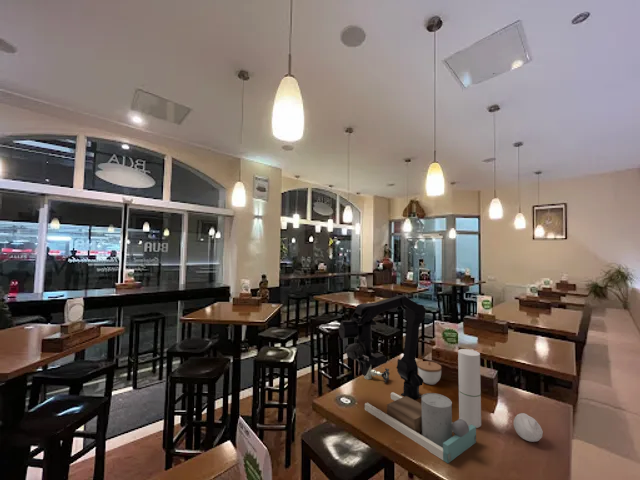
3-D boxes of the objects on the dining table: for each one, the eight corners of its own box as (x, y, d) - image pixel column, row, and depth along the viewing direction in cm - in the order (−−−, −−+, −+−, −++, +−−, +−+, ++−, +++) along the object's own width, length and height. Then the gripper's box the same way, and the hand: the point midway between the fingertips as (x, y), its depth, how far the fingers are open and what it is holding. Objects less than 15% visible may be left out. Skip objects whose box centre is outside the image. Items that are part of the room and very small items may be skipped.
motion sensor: (537, 450, 90) (536, 425, 90) (509, 437, 96) (509, 414, 96) (545, 440, 94) (545, 416, 95) (519, 429, 101) (518, 406, 101)
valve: (361, 379, 139) (385, 385, 133) (361, 365, 140) (385, 371, 134) (366, 374, 145) (389, 380, 139) (366, 361, 145) (389, 366, 139)
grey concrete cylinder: (417, 429, 100) (416, 393, 101) (443, 428, 101) (443, 392, 101) (428, 447, 91) (428, 407, 91) (458, 446, 91) (457, 407, 92)
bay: (393, 398, 122) (392, 376, 122) (480, 444, 92) (479, 415, 93) (364, 410, 112) (364, 386, 112) (452, 466, 83) (451, 434, 83)
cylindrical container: (479, 418, 107) (477, 350, 108) (483, 429, 100) (481, 356, 101) (458, 414, 109) (456, 348, 110) (460, 425, 103) (459, 354, 104)
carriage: (406, 408, 113) (406, 395, 113) (433, 423, 103) (433, 409, 103) (387, 418, 106) (387, 404, 107) (414, 434, 97) (414, 419, 97)
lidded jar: (413, 377, 142) (413, 358, 143) (434, 376, 143) (434, 357, 144) (424, 387, 132) (423, 366, 132) (446, 386, 133) (445, 365, 133)
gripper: (334, 333, 120) (334, 372, 119) (366, 345, 104) (366, 389, 104) (354, 329, 126) (354, 366, 125) (387, 340, 111) (387, 382, 110)
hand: (364, 375), depth 116 cm, fingers closed
